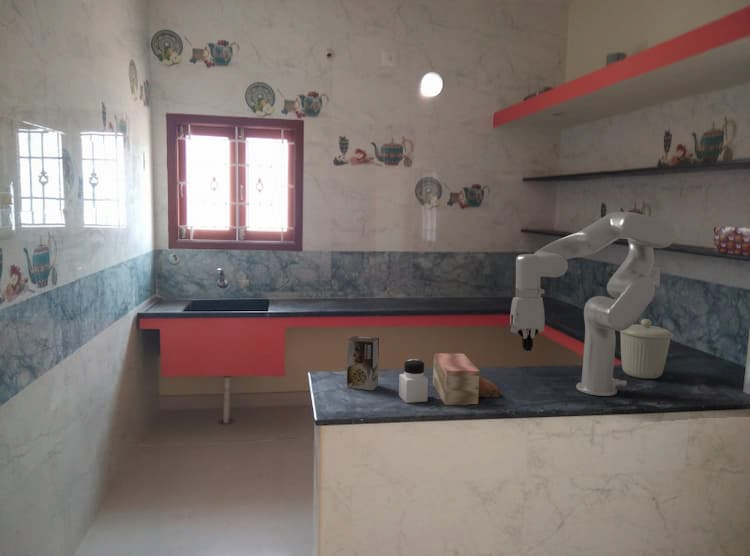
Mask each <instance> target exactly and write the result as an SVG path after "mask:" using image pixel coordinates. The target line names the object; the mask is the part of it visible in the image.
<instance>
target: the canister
mask: <svg viewBox="0 0 750 556" xmlns="http://www.w3.org/2000/svg"><path fill="white" fill-rule="evenodd" d="M619 333H620V335H619V336H620V359H621V361H620V362H621V368H622V371H623V372H624V374H626V375H628V376H630V377H633V378H636V379H637V378H639V379H645V380H651V379H653V380H654V379H659V378H660V377H661V376H662V375H663V373H664V369H665V365H666V360H667V359H668V357H667V356H668V353H669V348H670V343H671V339H672V338H673V337H674V334H673V333H672V332H670V331H669V330H668V329H666V328H662V327H660V326H655V325H652V320H650V319H649V318H643V319H641V321H640V324H632V325H631V326H630V327H629V328H628V329H626V330H623V331H619Z"/></svg>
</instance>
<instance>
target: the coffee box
mask: <svg viewBox="0 0 750 556" xmlns="http://www.w3.org/2000/svg"><path fill="white" fill-rule="evenodd" d="M346 344H347V351H346V352H347V357H346V358H347V359H346V360H347V361H346V362H347V366H346V370H347V371H346V388H349V389H355V390H356V389H357V390H364V391H366V390H367V391H374V390H375V389H376V388H377V387H378V386H379V350H380V349H379V348H380V347H379V346H380V338H379V337H372V336H362V335H361V336H358V335H353V336H352V337H350V338H348V339H347V342H346Z"/></svg>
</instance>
